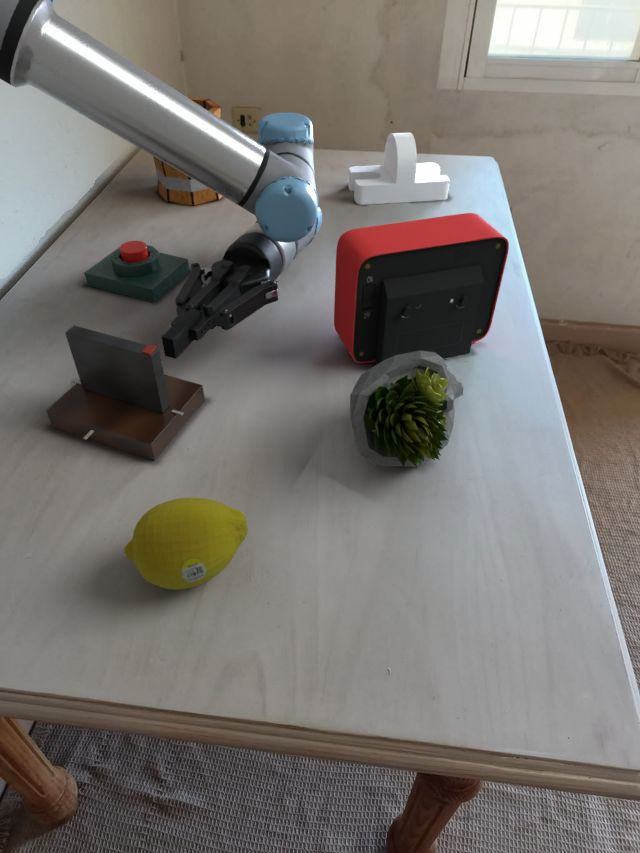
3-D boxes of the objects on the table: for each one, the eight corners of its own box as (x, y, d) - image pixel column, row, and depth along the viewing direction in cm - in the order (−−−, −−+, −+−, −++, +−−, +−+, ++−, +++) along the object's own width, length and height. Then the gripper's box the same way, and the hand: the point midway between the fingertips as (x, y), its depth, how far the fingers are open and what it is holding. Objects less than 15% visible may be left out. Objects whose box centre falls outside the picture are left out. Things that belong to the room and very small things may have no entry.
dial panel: (35, 437, 71) (27, 419, 70) (115, 362, 82) (110, 345, 80) (148, 475, 67) (144, 458, 65) (218, 392, 78) (215, 375, 76)
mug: (229, 203, 118) (222, 118, 108) (156, 207, 116) (141, 121, 106) (226, 164, 132) (220, 86, 122) (161, 167, 131) (149, 88, 120)
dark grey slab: (82, 389, 74) (64, 330, 68) (91, 381, 75) (73, 323, 69) (162, 413, 71) (150, 354, 65) (170, 405, 72) (159, 346, 66)
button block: (87, 285, 96) (80, 261, 93) (125, 256, 102) (121, 233, 100) (154, 302, 92) (149, 278, 90) (189, 271, 99) (186, 248, 96)
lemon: (129, 610, 55) (109, 557, 50) (138, 539, 61) (121, 484, 56) (251, 600, 56) (246, 546, 51) (249, 530, 62) (244, 475, 57)
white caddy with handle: (448, 199, 121) (457, 141, 113) (357, 205, 118) (360, 145, 111) (434, 180, 127) (441, 123, 120) (347, 184, 125) (349, 127, 118)
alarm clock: (495, 351, 85) (522, 242, 74) (356, 378, 80) (364, 266, 69) (461, 313, 91) (482, 208, 81) (332, 337, 87) (335, 229, 76)
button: (116, 260, 94) (113, 249, 93) (131, 249, 97) (129, 238, 96) (138, 265, 93) (136, 255, 92) (153, 254, 96) (151, 243, 95)
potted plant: (466, 384, 74) (516, 445, 61) (384, 452, 77) (414, 524, 64) (403, 312, 69) (442, 362, 56) (318, 388, 72) (335, 452, 59)
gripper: (215, 222, 87) (114, 307, 71) (302, 240, 84) (215, 333, 68) (220, 271, 92) (127, 360, 76) (302, 289, 89) (222, 387, 73)
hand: (168, 347), depth 72 cm, fingers closed
